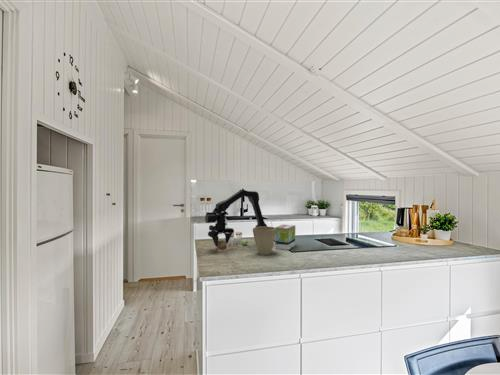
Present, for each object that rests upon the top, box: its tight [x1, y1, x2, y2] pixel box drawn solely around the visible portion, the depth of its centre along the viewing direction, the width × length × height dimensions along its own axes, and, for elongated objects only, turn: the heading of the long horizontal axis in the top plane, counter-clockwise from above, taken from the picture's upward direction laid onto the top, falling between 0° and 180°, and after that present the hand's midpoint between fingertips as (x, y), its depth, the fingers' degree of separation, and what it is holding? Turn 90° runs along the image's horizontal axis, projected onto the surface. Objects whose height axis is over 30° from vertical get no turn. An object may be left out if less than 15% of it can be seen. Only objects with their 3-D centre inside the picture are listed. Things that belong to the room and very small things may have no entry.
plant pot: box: [252, 226, 276, 256], centre depth 181 cm, size 15×15×16 cm
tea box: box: [274, 224, 296, 251], centre depth 197 cm, size 15×10×15 cm, turn 154°
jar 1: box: [226, 234, 235, 247], centre depth 201 cm, size 5×5×8 cm
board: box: [211, 245, 236, 253], centre depth 193 cm, size 10×12×1 cm
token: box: [216, 240, 227, 250], centre depth 190 cm, size 4×4×5 cm
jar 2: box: [235, 231, 243, 245], centre depth 209 cm, size 5×5×8 cm
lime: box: [241, 238, 249, 246], centre depth 204 cm, size 4×4×4 cm
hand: (221, 245), depth 190 cm, fingers open, 9 cm apart
